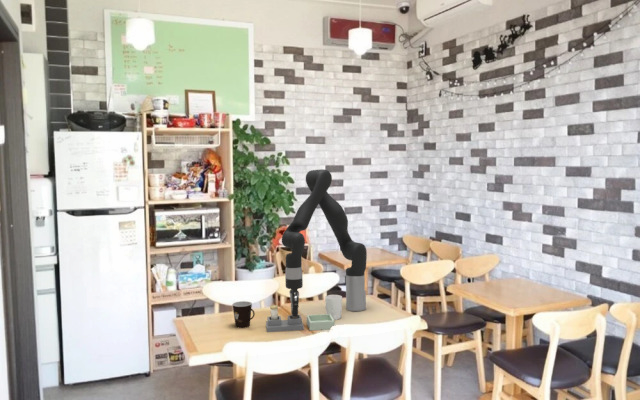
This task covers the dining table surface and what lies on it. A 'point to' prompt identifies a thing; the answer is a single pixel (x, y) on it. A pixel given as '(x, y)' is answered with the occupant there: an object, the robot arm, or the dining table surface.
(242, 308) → the coffee mug
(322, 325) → the parts tray
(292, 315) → the fuse
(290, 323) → the fuse block
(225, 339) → the dining table surface
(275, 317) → the fuse
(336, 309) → the white cup
